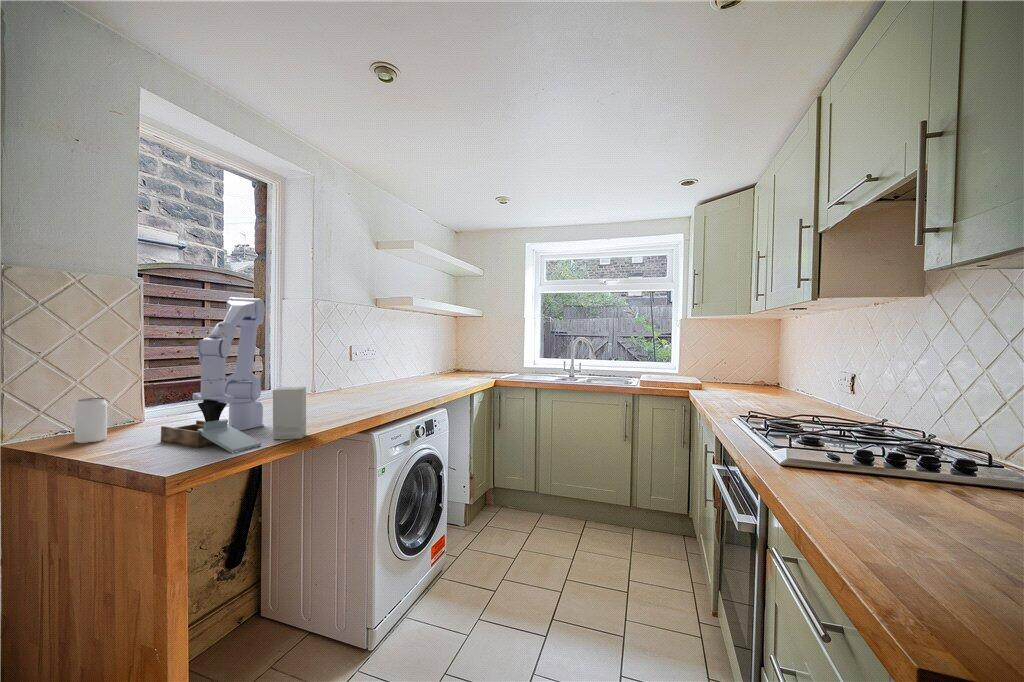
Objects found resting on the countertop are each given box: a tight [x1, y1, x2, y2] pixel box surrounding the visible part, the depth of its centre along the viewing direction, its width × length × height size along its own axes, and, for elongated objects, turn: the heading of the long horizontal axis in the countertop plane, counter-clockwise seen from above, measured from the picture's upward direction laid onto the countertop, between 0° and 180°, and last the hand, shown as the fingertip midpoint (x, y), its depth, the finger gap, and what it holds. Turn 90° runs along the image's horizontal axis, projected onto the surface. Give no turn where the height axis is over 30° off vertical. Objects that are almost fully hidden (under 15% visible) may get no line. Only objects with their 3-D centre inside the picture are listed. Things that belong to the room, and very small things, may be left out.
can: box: [73, 397, 108, 444], centre depth 117 cm, size 6×6×12 cm
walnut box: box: [160, 419, 234, 449], centre depth 121 cm, size 16×10×4 cm, turn 70°
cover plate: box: [197, 418, 262, 453], centre depth 116 cm, size 15×8×3 cm, turn 69°
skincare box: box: [272, 386, 307, 440], centre depth 128 cm, size 8×7×16 cm
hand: (211, 426), depth 119 cm, fingers closed
